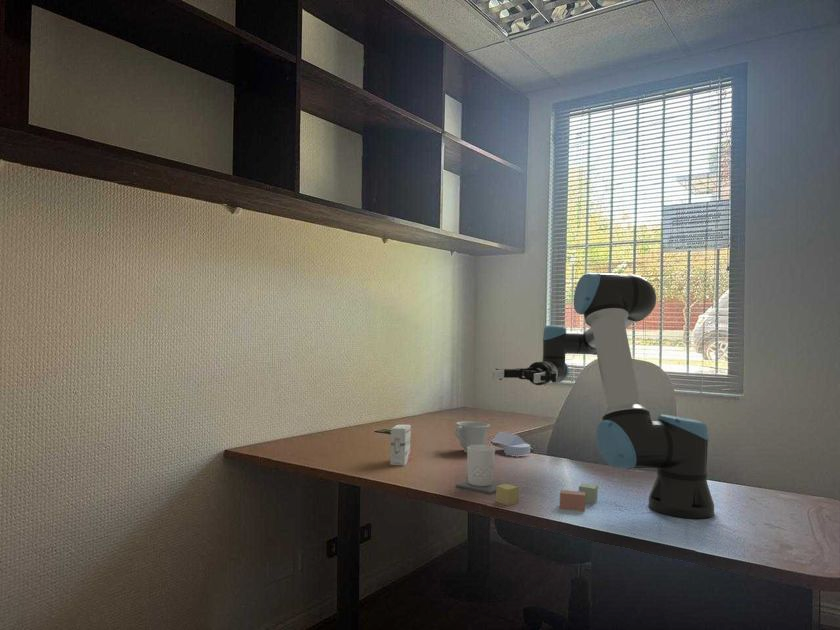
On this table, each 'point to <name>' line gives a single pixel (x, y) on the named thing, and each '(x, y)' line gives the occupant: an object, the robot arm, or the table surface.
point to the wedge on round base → (512, 444)
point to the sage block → (589, 492)
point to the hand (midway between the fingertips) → (513, 376)
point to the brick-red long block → (572, 500)
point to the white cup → (480, 464)
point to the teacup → (471, 433)
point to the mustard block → (507, 494)
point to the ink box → (400, 444)
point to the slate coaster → (485, 489)
